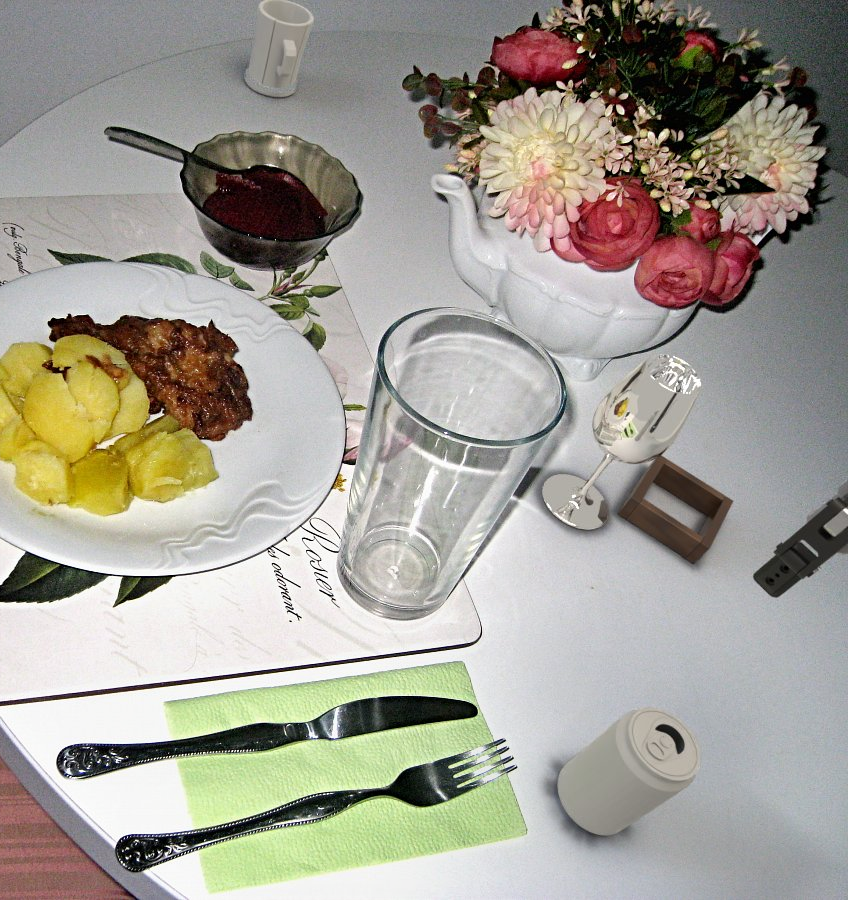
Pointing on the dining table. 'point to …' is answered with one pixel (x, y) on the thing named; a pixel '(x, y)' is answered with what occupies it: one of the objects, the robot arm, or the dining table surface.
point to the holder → (667, 526)
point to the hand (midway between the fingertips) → (795, 564)
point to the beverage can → (629, 771)
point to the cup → (278, 45)
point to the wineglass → (628, 433)
